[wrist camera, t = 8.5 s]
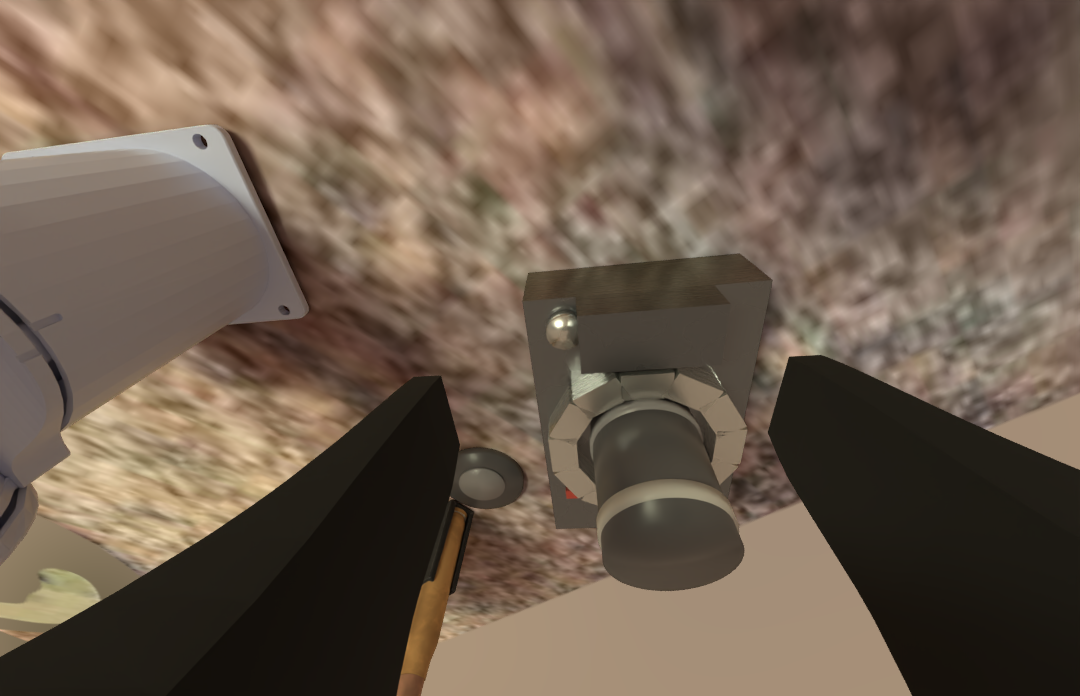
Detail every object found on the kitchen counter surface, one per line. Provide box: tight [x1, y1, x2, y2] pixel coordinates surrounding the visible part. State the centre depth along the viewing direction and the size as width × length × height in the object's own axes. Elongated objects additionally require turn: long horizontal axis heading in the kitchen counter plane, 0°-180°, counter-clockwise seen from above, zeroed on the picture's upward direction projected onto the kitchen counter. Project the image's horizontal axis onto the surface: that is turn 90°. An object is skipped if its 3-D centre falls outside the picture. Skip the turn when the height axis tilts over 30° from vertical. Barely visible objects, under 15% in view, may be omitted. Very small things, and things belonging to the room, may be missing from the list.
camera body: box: [522, 254, 773, 529], centre depth 19 cm, size 9×14×5 cm, turn 6°
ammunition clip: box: [397, 500, 474, 696], centre depth 23 cm, size 11×2×12 cm, turn 135°
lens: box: [589, 398, 744, 591], centre depth 15 cm, size 5×5×6 cm
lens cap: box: [450, 448, 523, 509], centre depth 24 cm, size 5×5×1 cm
